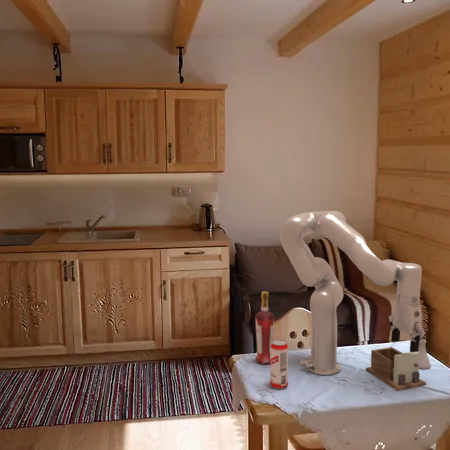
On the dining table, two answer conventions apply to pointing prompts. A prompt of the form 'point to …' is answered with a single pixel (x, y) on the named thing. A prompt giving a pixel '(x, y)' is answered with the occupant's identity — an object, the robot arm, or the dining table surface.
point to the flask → (423, 356)
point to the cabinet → (390, 369)
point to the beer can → (279, 364)
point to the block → (406, 366)
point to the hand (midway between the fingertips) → (404, 346)
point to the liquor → (264, 331)
